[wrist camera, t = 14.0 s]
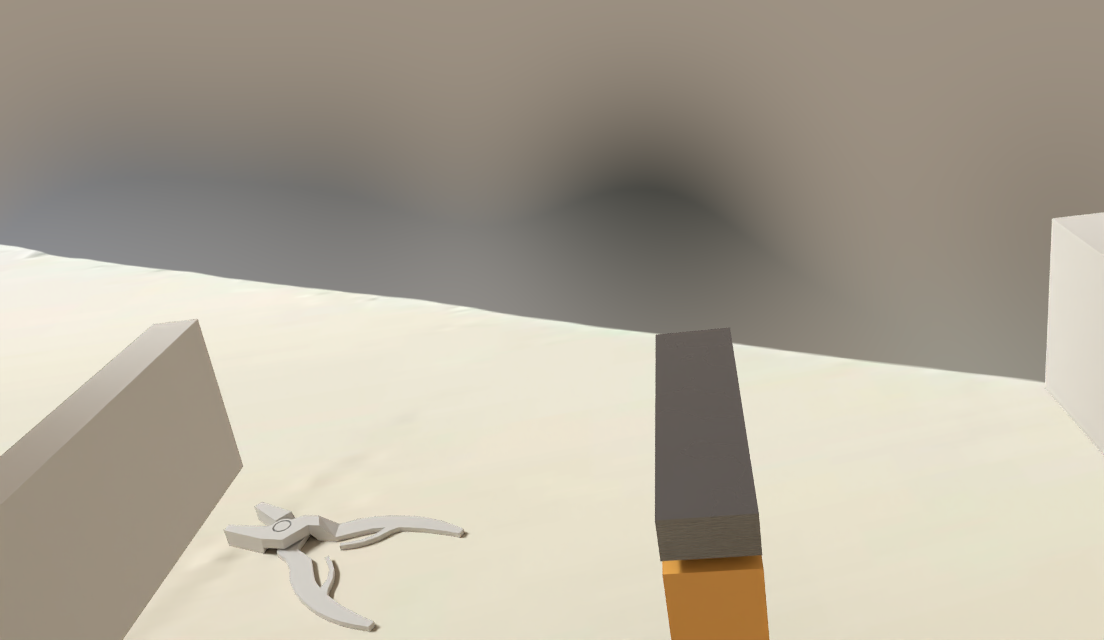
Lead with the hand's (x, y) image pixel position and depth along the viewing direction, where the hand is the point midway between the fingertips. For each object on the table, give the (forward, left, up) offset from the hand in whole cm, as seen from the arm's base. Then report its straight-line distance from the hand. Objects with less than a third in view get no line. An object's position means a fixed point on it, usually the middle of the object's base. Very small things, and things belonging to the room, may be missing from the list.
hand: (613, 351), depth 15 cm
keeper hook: (+1, +16, -30) cm, 34 cm away
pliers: (-24, +35, -30) cm, 52 cm away
